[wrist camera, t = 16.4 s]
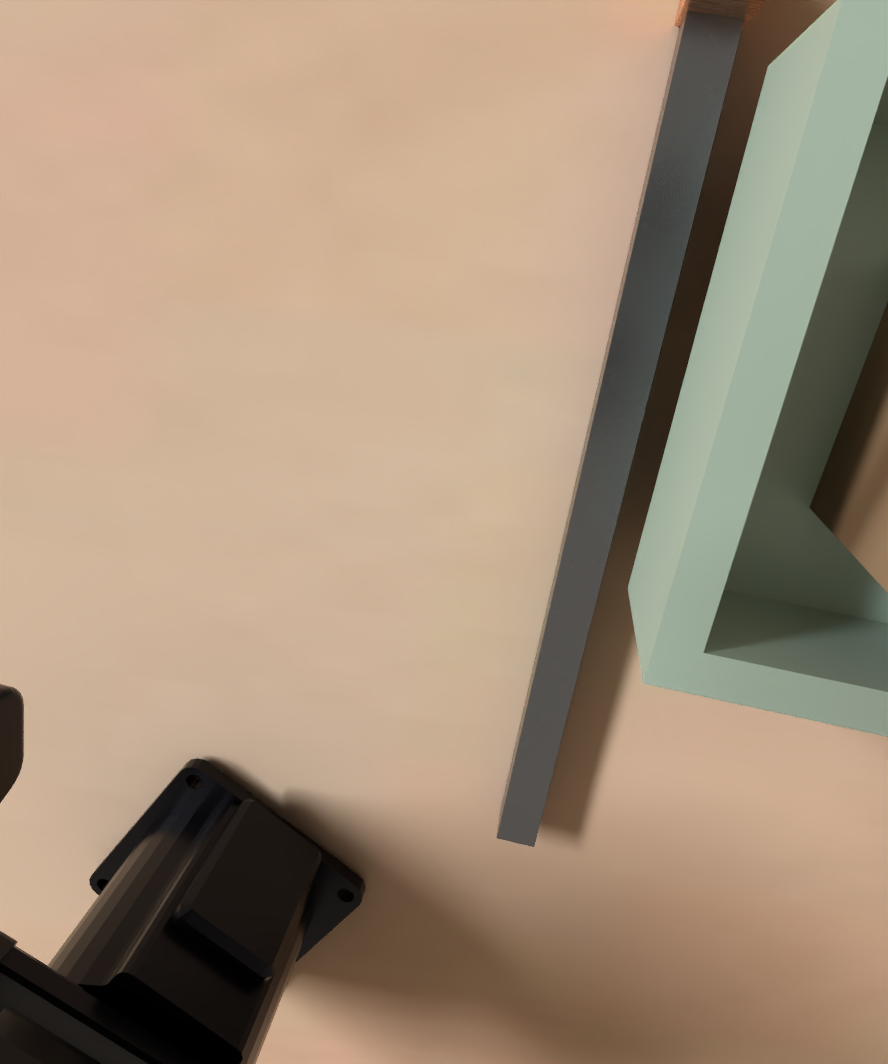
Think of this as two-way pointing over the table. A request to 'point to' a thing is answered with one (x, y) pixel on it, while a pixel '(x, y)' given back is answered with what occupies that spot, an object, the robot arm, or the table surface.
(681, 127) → the rails
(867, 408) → the walnut block
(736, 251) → the sage green storage bin
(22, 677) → the table surface
